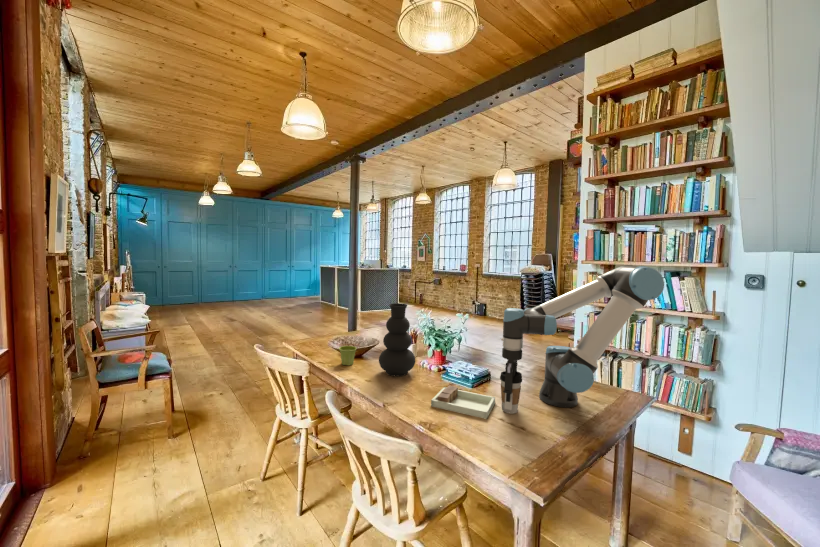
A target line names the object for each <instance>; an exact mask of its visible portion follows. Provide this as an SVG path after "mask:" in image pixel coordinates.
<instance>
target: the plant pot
mask: <svg viewBox="0 0 820 547" xmlns="http://www.w3.org/2000/svg"><path fill="white" fill-rule="evenodd" d="M338 350H339V352H340V359H341V361H340V362H341V364H342V366H352V365H353V364H354V361H355V354H356V352H357V346H354V345H343V346H339V348H338Z"/></svg>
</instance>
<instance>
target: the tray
mask: <svg viewBox="0 0 820 547" xmlns="http://www.w3.org/2000/svg"><path fill="white" fill-rule="evenodd" d="M447 387H448V386H447ZM447 387H446V386H444V387H442V388H441V389H440V391H438V392H437V394H436V395H435V396H434V397H432V399H430V401H431V402H430V405H431V407H432V408H436V409H441V410H446V411H450V412H455V413H459V414H464V415H467V416H472V417H476V418H481V419H484V420H487V419H488V418H489V416H490V414H491V412H492V411H493V410H492V409H493V407H494V406H495V404H496V397H495V396H491V395H488V394H487V395H485V394H481V393H478V392H477V393H476V392H471V391H467V390H461V389H458V397H457V398H456V399H455V400H453V401H452V402H451V403H448V402H443V401H439V400H438V396H439V394H440V393H441V392H442V391H443V390H444V389H446V388H447Z"/></svg>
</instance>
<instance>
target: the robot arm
mask: <svg viewBox="0 0 820 547" xmlns="http://www.w3.org/2000/svg"><path fill="white" fill-rule="evenodd" d="M664 290H665V280H664V277H663V275H662V274H661V272H659V271H658V270H657V269H655V268H653V267H650V266H646V265H639V266H637V265H631V264H627V265H622V266H618V267H616V268H613V269H611V270H610V271H609V270H608V271H607V272H605V273H603V274H600V275H598V276H596V278H595V280H593V281H591V282H588V283H586V284H584V285H582V286H580V287H578V288H575V289H572V290H571V291H568V292H565V293H564V294H562V295H559V296H557V297H555V298H553V299H551V300H548V301H546V302H544V303H542V304H538V305H537V306H534V307H527V308H524V309H522V308H517V307H516V308H515V307H508V308H505V309H504V311H503V320H502V322H503V324H502V338H500V340H501V341H502V350H501V357H502V358H504V359H505V360H507V361H506V362H505V367H504V368H505V369H504V371H505V388H504V391H503V392H504V393H505V406H504V409H508V410H512V395H513V393H512V387H513V376H514V375H515V372H516V371H517V370H518V361H520V360H522V358H523V350H522V349H523V347H524V346H523V344H524V334H525V335H541V336H542V335H543V336H550V335H551V336H552V335H553V336H554V335H555V334H556V332H557V327H558V322H557V318H559V317H561V316H564V315H566V314H568V313H571V312H572V311H576V310H577V309H579V308H582V307H585V306H586V305H590V304H592V303H593V302H596V301H598V300H601V299H603V298H608V299H609V298H610V299H609V301H608V302H607V304H606V305H605V307H604V308H603V309H602V311H601V312H600V313H599V315H598V316H597V317H596V319H595V320H594V322H592V324H591V325H590V327H589V328H588V330H587V331H586V333H584V335H583V336H582V338H581V339H580V340H579V342H578V343H577V345H576V346H575V347H571V346H564V345H550V346H549V345H548V346H547V347H546V348H545V353H544V354H545V360H544V361H545V362H544V364H545V365H544V380H543V383H542V384H541V387H540V390H539V395H538V397H539V400H541V401H542V402H543V403H546V404H548V405H551V406H554V407H559V408H574V407H577V405H578V404H579V403H578V401H579V397H578V394H579V393H581V394H582V393H585V392H586V391H588V390H589V389H591V388H592V386H593V385H594V381H595V376H594V375H595V374H594V373H595V372H596V371H597V370H598V368H599V366H598V360H600V357H601V356H602V355H603V354H604V352H605V351H606V350H607V348H608V347H609V346H610V344H612V342H613V341H614V339H615V337H616V336H617V335H618V334H619V332H620V331H621V329H622V328H623V327H624V325H626V322H627V321H628V320H629V319H630V318H631V316H632V315H633V314H634V312H635V311H636V310H637V309H643V308H644V307H645V306H646V304H647V303H648V302H649V301H651V300H655V299H657V298H659V297H660V295H661V294H662V293H663V292H664ZM517 372H518V371H517Z"/></svg>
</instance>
